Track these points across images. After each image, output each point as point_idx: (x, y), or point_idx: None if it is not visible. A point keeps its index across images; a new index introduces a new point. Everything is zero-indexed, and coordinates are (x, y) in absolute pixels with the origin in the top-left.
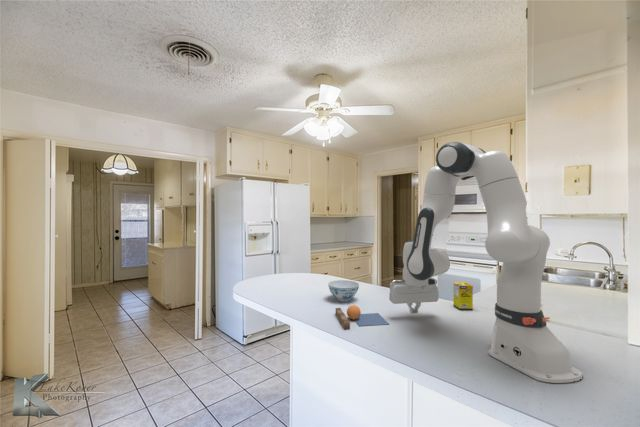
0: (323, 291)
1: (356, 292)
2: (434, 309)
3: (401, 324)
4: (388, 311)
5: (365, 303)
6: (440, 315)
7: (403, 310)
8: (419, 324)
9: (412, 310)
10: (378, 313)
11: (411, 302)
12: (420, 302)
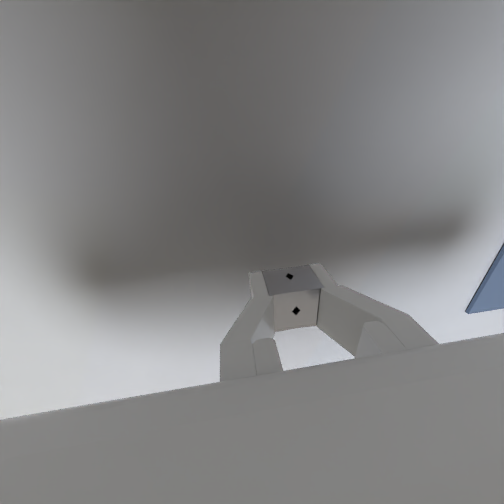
0: None
1: None
2: (60, 389)
3: (490, 83)
4: None
5: None
6: (15, 295)
7: (286, 359)
8: (314, 57)
9: (321, 281)
10: (473, 307)
11: (446, 351)
12: (240, 378)
